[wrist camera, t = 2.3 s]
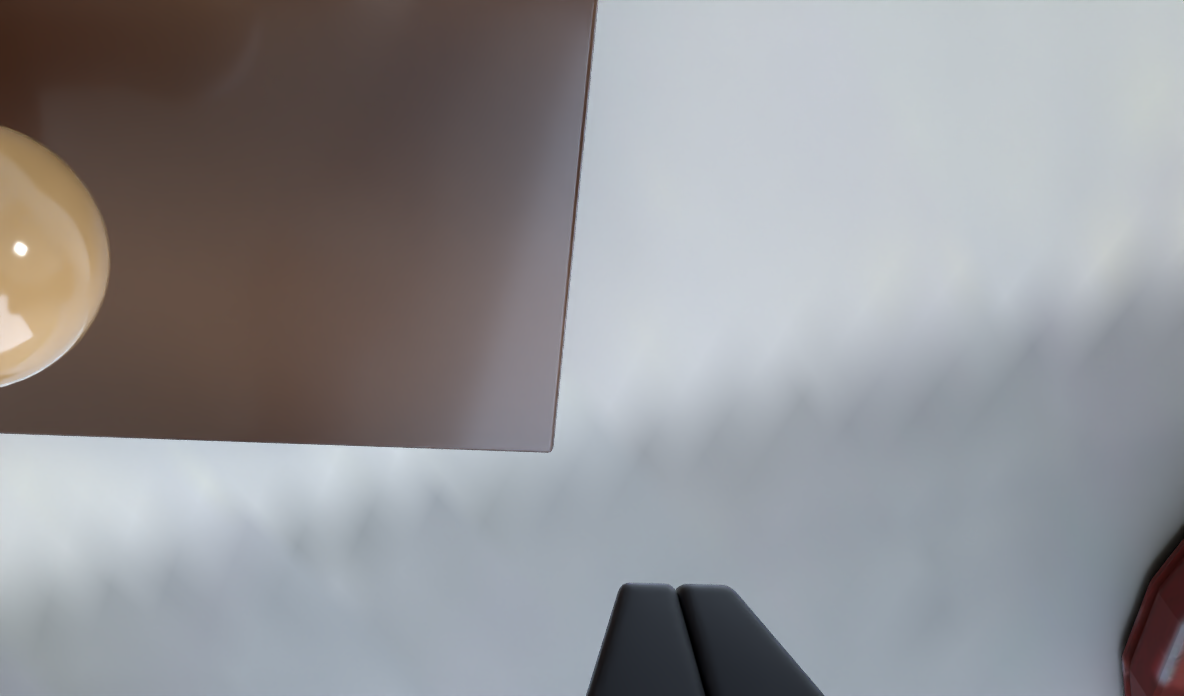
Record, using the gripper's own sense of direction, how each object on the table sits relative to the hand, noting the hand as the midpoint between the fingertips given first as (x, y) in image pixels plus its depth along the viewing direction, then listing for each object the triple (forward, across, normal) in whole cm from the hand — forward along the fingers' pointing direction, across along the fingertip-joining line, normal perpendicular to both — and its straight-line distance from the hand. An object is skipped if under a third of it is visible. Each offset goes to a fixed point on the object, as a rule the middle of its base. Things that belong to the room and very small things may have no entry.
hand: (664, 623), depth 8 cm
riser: (+12, +5, 0) cm, 13 cm away
